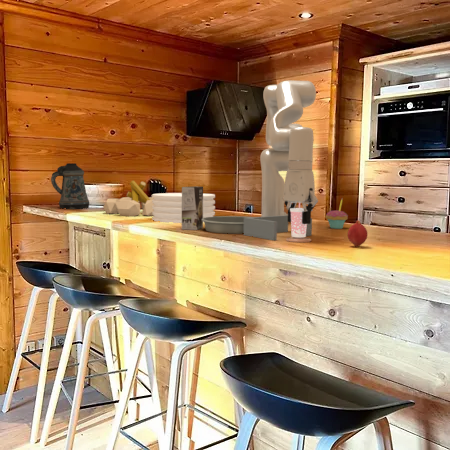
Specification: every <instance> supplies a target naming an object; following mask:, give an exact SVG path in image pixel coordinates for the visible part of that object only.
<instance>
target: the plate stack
mask: <svg viewBox="0 0 450 450" xmlns="http://www.w3.org/2000/svg"><path fill="white" fill-rule="evenodd" d="M151 197H153V198H154V200H152V203H153V204H154V205H153V206H152V209H154V211H152V215H154V216H151V217H152V218H151V219H152V221H153V220H154V222H158V221H160V222H159V223H169V222H173V224H182V192H165V193H164V192H163V193H162V192H161V193H160V192H159V193H153V194H151ZM215 198H216V194H215V193H203V218H206V217H214V216H215V215H216V211H214V210H216V206H215V204H216V200H215ZM203 223H204V221H203Z"/></svg>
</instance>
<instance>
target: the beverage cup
mask: <svg viewBox="0 0 450 450" xmlns="http://www.w3.org/2000/svg"><path fill="white" fill-rule="evenodd" d="M290 211H291V222H290V228H291V237H304V238H307V236H306V228H307V224H302V212H303V211H304V209H303V207H301V203H298V207H295V208H290Z"/></svg>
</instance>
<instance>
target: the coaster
mask: <svg viewBox="0 0 450 450" xmlns="http://www.w3.org/2000/svg"><path fill="white" fill-rule="evenodd" d="M285 241H287V242H289V241H290V243H311V241H312V238H310V237H292V236H290V237H286V238H285Z"/></svg>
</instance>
